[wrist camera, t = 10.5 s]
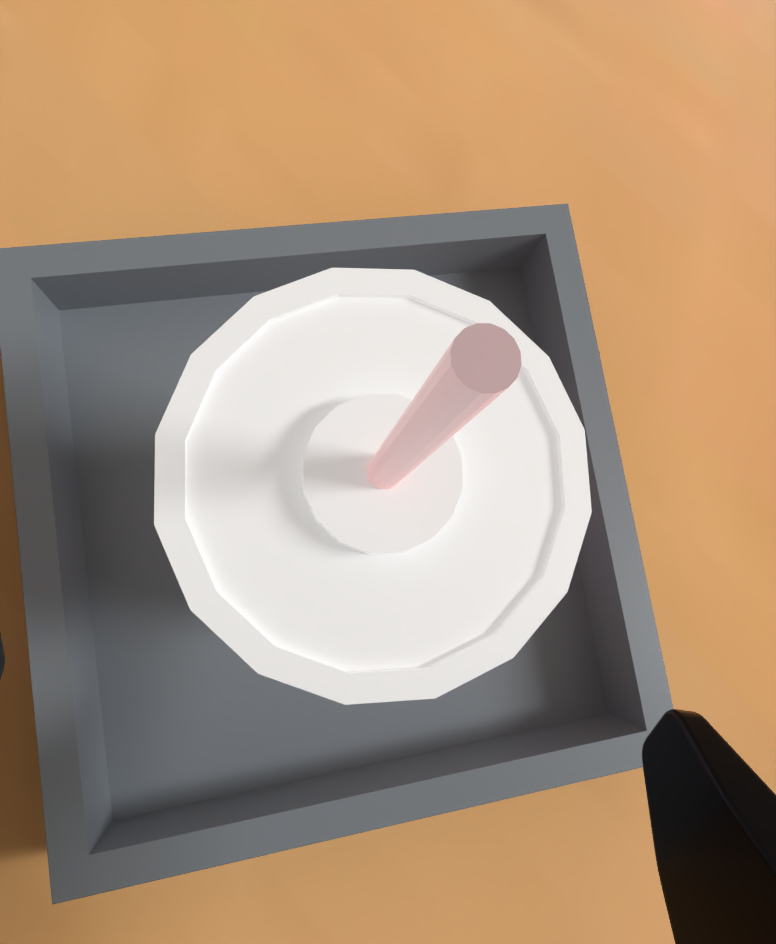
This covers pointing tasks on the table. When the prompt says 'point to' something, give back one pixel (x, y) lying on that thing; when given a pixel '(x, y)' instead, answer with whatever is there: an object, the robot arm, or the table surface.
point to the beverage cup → (371, 485)
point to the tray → (204, 653)
